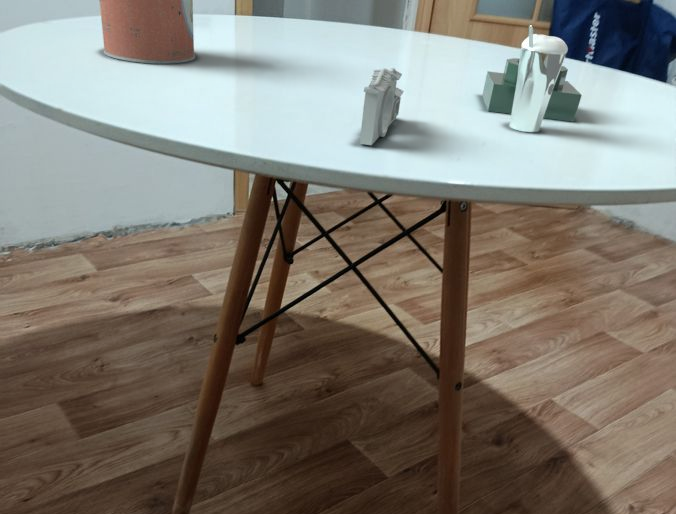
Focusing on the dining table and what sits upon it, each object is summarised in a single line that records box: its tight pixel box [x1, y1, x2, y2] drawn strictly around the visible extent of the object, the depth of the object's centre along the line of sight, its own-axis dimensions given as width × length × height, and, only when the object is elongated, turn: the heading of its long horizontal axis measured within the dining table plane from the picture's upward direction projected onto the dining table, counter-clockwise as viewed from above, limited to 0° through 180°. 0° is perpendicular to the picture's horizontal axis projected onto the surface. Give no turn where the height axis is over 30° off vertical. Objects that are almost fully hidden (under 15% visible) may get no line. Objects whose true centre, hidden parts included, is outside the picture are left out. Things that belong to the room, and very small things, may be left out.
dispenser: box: [481, 57, 582, 123], centre depth 76 cm, size 10×8×5 cm
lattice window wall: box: [359, 67, 405, 146], centre depth 60 cm, size 12×2×6 cm, turn 164°
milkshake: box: [508, 25, 569, 133], centre depth 66 cm, size 4×5×10 cm
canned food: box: [99, 0, 196, 65], centre depth 79 cm, size 11×11×12 cm
